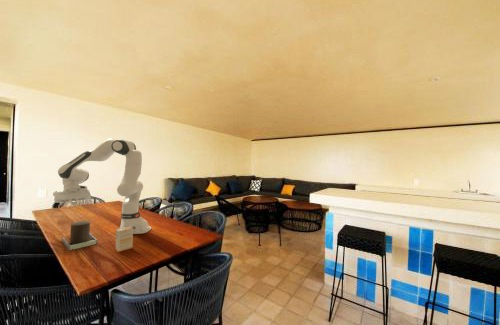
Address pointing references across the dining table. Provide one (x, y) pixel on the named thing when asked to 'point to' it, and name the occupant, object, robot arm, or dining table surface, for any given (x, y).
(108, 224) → the dining table surface
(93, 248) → the dining table surface
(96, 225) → the dining table surface
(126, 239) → the supplement box
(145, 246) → the dining table surface
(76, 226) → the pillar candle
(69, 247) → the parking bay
